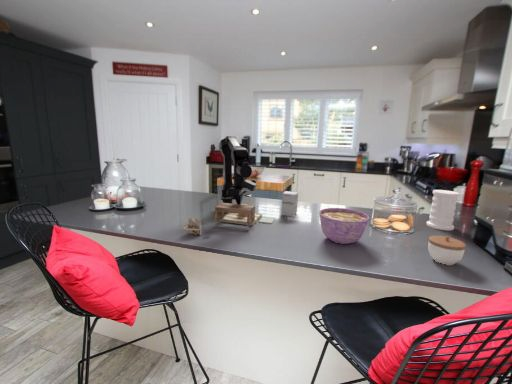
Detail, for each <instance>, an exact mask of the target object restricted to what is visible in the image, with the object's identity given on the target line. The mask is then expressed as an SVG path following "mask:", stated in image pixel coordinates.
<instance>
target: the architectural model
mask: <svg viewBox="0 0 512 384" xmlns="http://www.w3.org/2000/svg"><path fill="white" fill-rule="evenodd" d="M187 220H188V225H185V226H184V228H182V230H187V231H188V234H194V235H195V236H197V235H199V236H202V219H201V218H195V217H188V219H187Z"/></svg>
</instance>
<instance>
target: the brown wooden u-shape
mask: <svg viewBox="0 0 512 384" xmlns="http://www.w3.org/2000/svg"><path fill="white" fill-rule="evenodd" d="M225 213H227V214H228V213H236V214H245V215H247V225H246V226H247V227H251V226H252V225H251V224H252V223H253V222H254V221H255V213H256V205H249V204H248V205H240V204H237V203H232V204H230V203H223V202H221V203H220V204H218V205H216V206H215V207H214V222H215V223H219V222H221V219H222V218H224V216H225Z"/></svg>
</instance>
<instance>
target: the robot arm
mask: <svg viewBox="0 0 512 384" xmlns="http://www.w3.org/2000/svg"><path fill="white" fill-rule="evenodd" d="M218 148H219V150H220V154H221V155H222V157H223V183H222V185H221V190H220V191H219V192H220V193H219V200H220V201H222V203H230V204H233V200H235V202H236V203H235V204H240V205H241V204H242V202H243V198H244V195H245V194H246V193H247V192H248V191H247V190H249V191H250V192H254V191H255V190H256V188H257V186H258V183H257V180H256V179H252V180H249V179H248V178H249V177H250V176H252V173H253V169H252V167H251V165H249V164H250V163H251V157H250V154H249V153H250V152H249V151H248V150H247V148H246V147H244V146H241V145H240V144H239V142H238V140H237V138H236V136H233V135H227V136H225V137H224V138H223V139H221V140H220V142H219V145H218ZM232 163H233V164H232ZM232 165H233V166H232ZM232 167H233V168H232ZM232 170H233V171H232ZM245 189H247V190H245Z"/></svg>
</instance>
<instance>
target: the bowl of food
mask: <svg viewBox="0 0 512 384" xmlns="http://www.w3.org/2000/svg"><path fill="white" fill-rule="evenodd" d="M318 215H319V220H320V227H321V231H322V233H323V235H324V236H325V237H326V238H328V239H329V240H331V241H332V242H333V241H334V243H336V244H339V243H340V245H349V244H351V243H355V242H357V241H359V240H360V239H361V238H362V237H363V235H364V232H365V230H366V228H367V226H368V222H369V220H370V217H369V215H368V214H366V213H365V212H363V211H359V210H355V209H350V208H342V207H341V208H340V207H328V208H323V209H321V210H319V211H318Z"/></svg>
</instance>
